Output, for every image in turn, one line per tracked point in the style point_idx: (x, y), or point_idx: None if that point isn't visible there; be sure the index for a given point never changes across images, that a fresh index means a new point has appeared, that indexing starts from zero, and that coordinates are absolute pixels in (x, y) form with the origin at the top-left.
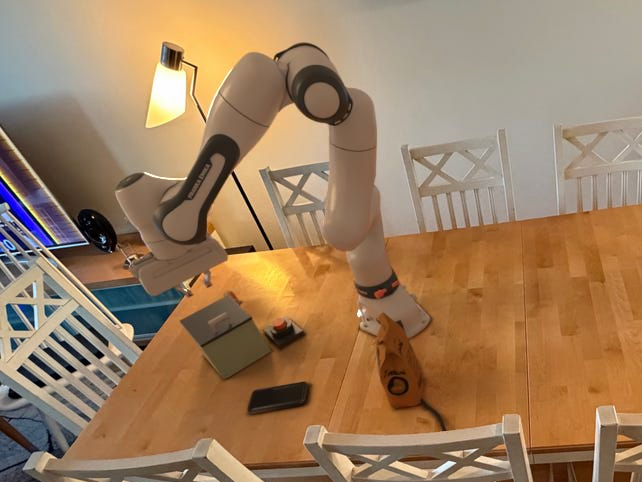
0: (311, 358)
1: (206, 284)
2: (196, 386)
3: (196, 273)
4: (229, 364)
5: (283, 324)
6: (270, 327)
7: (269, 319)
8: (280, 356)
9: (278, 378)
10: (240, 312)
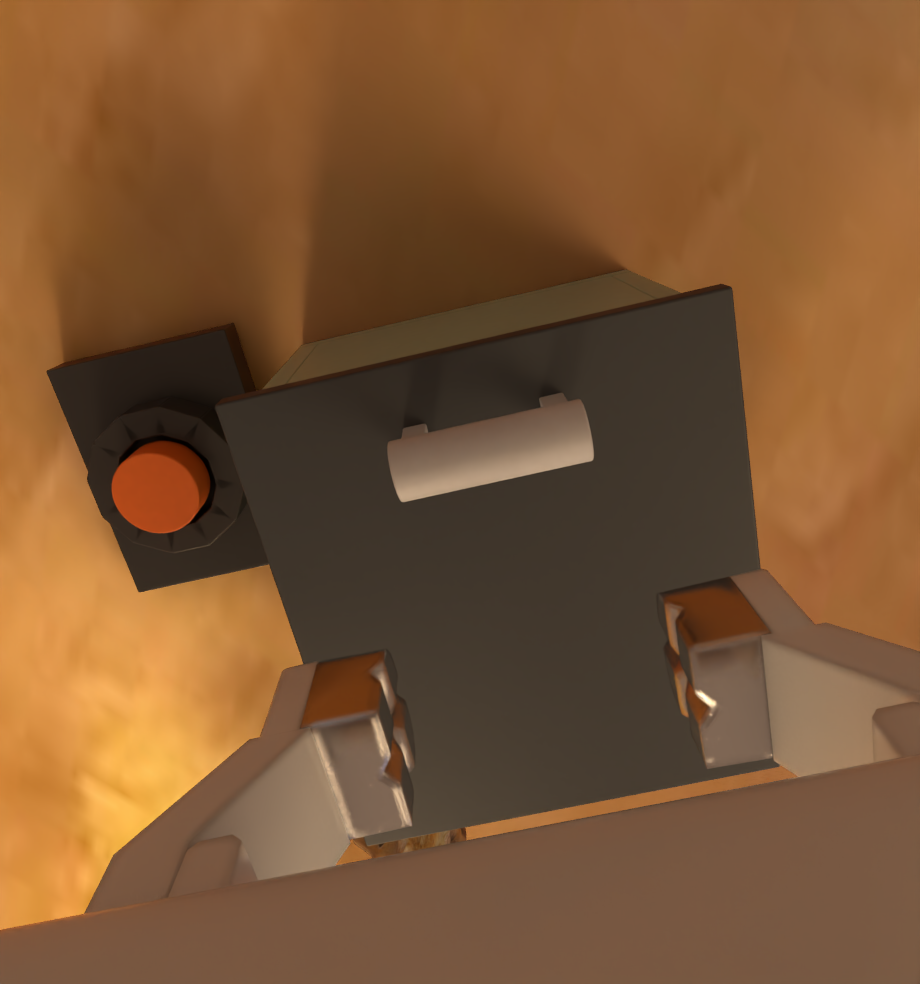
0: (48, 65)
1: (365, 686)
2: (786, 328)
3: (378, 899)
4: (562, 296)
5: (129, 456)
6: (232, 507)
7: (258, 659)
8: (252, 249)
9: (304, 10)
10: (303, 545)
